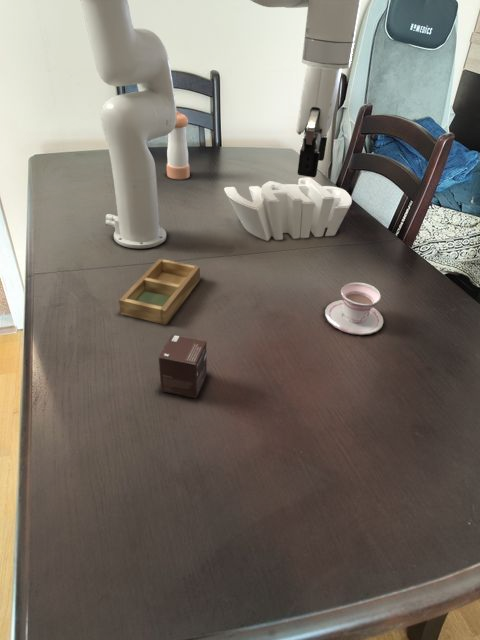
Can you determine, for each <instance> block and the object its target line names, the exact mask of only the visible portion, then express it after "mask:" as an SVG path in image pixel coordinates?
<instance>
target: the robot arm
mask: <svg viewBox="0 0 480 640" xmlns="http://www.w3.org/2000/svg"><path fill="white" fill-rule="evenodd" d="M250 1H251V2H253V3H254V4H257V5H259V6H262V7H265V8H266V7H267V8H288V9H292V8H293V9H298V8H299V9H300V8H307V13H306V22H305V32H304V40H303V48H302V57H301V63H302V64H304V65H306V70H305V74H304V79H303V85H302V91H301V96H300V97H301V98H300V105H299V112H298V117H297V123H296V133H297V135H299V136H300V135H302V134H303V137H302V142H301V148H300V150H299V158H298V164H297V175H298V176H303V177H310V178H316V177H317V174H318V167H319V161H322V162H323V161H324V159H325V155H326V149H327V148H326V147H327V142H328V137H327V135H328V132H329V131H330V128H331V125H332V122H333V118H334V113H335V109H336V104H337V99H338V93H339V88H340V83H341V82H340V81H341V76H342V70H343V69H344V70H345V69H350V67H351V63H352V62H351V61H352V56H353V55H352V54H353V49H354V45H355V43H354V41H355V37H356V31H357V28H358V27H357V26H358V21H359V14H360V9H361V2H362V0H250ZM80 4H81V8H82V12H83V18H84V22H85V27H86V30H87V34H88V39H89V43H90V48H91V51H92V56H93V60H94V64H95V67H96V71H97V73H98V75H99V77H100V78H101V80H102V81H103V82H104V83H105V84H107V85H108V86H112V87H127V86H134V85H136V86H137V90H138V91H132V92H126V93H121V94H118V95H114V96H112V97H110V98H109V99H108V100H106V101H105V102H104V104H103V105H102V107H101V109H100V124H101V128H102V131H103V135H104V137H105V141H106V144H107V147H108V148H107V149H108V152H109V159H110V164H111V173H112V178H113V186H114V193H115V194H114V196H115V205H116V213H117V215H115V214H111V213H107V214H106V215H105V222H104V224H105V226H108V227H113V228H114V229H115V230H114V231H113V239H114V241H115V242H116V243H117V244H118V245H119V246H122V247H125V248H129V249H137V250H139V249H150V248H155V247H157V246H159V245H161V244H163V243H165V241H166V240H167V231H166V230H165V229H164V227H162V226H161V225H160V217H159V216H160V215H159V214H160V213H159V202H158V201H159V199H158V184H157V183H158V182H157V171H156V170H157V169H156V163H155V159H154V157H153V155H152V153H151V151H150V149H149V148H148V145H147V142H149V141H152V140H155V139H158V138H162V137H165V136H168V134H169V133H170V132H172V130H173V129H174V127H175V125H176V121H177V111H178V110H177V109H178V108H177V104H176V97H175V90H174V84H173V82H174V81H173V77H172V71H171V65H170V64H171V63H170V59H169V55H168V52H167V49H166V46H165V44H164V43H163V41H162V40H161V38H160V37H159V36H158V35H157V34H156V33H155V32H153V31H151V30H150V29H146V28H134V25H133V21H132V17H131V11H130V6H129V2H128V0H80Z"/></svg>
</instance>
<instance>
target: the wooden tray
mask: <svg viewBox="0 0 480 640" xmlns="http://www.w3.org/2000/svg"><path fill="white" fill-rule="evenodd" d="M200 281H201V267H200V266H197V265H193V264H188V263H183V262H179V261H175V260H168V259H165V258H161V257H160V258H158V259H157V260H156V261H155V262H154V263H153V264H152V265H151V267H149V268H148V270H146V272H144V274H143V275H142V276H141V277H140V278H139V279H138V280H137V281H136V282H135V283H134V284H133V285H132V286H131V287H130V288H129V289H128V290H127V291H126V292H125V293H124V295H122V297H120V298H119V300H118V301H119V309H120V315H122V316H127V317H132V318H135V319H140V320H145V321H148V322H152V323H156V324H162V325H168V323H169V322H170V320H171V319H172V317H173V316H174V315H175V314H176V313H177V311H178V310H179V308H180V307H181V306H182V304H183V303H184V302H185V300H186V299H187V298H188V296H189V295H190V294H191V292H192V291H193V289H195V287H196V286H197V284H198V283H199V282H200Z"/></svg>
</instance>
